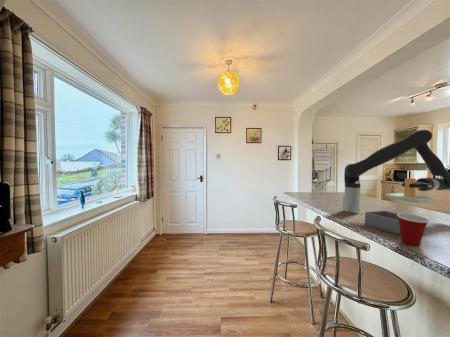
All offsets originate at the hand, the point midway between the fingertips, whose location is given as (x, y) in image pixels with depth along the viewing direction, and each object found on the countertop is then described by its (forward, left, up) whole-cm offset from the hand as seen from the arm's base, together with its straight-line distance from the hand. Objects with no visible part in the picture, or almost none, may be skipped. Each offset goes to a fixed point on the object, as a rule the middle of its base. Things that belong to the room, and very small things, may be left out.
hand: (406, 185), depth 123 cm
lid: (0, +3, -8) cm, 9 cm away
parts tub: (+4, -17, -22) cm, 28 cm away
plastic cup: (+22, -30, -22) cm, 43 cm away
